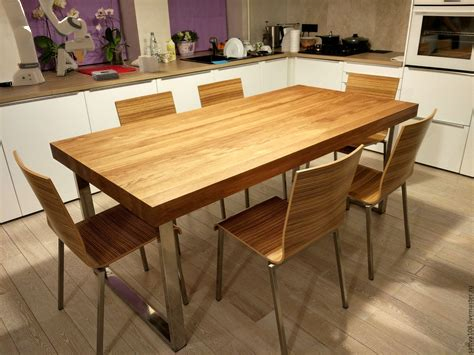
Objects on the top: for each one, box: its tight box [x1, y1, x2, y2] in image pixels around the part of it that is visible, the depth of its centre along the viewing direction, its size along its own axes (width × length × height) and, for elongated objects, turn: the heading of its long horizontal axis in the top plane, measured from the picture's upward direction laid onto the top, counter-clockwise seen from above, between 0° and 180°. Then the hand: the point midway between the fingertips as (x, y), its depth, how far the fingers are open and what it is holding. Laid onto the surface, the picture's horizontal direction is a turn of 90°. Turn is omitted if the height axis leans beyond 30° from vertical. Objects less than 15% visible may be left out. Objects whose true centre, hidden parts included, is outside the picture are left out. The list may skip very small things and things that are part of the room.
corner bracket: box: [137, 54, 160, 73], centre depth 318 cm, size 11×11×12 cm
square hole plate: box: [91, 69, 120, 81], centre depth 298 cm, size 16×16×4 cm
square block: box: [75, 50, 85, 63], centre depth 284 cm, size 4×4×8 cm
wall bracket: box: [56, 48, 79, 77], centre depth 325 cm, size 22×4×30 cm
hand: (79, 55), depth 284 cm, fingers closed on square block, 4 cm apart
